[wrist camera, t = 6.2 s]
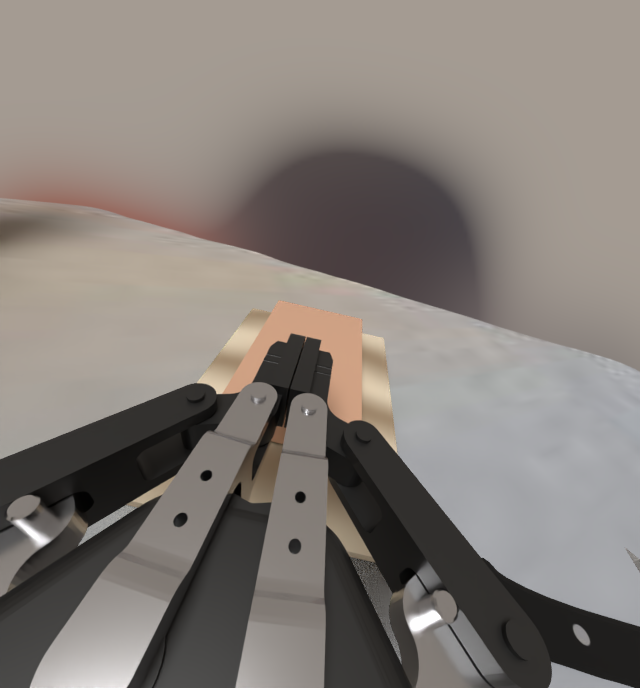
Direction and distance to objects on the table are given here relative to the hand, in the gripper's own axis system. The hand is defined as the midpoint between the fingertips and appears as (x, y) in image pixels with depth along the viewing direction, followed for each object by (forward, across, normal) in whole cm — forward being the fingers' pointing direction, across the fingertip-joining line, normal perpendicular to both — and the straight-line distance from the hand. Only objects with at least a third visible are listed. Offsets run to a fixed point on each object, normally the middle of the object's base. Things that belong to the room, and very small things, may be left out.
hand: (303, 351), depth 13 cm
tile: (-1, 0, +5) cm, 5 cm away
